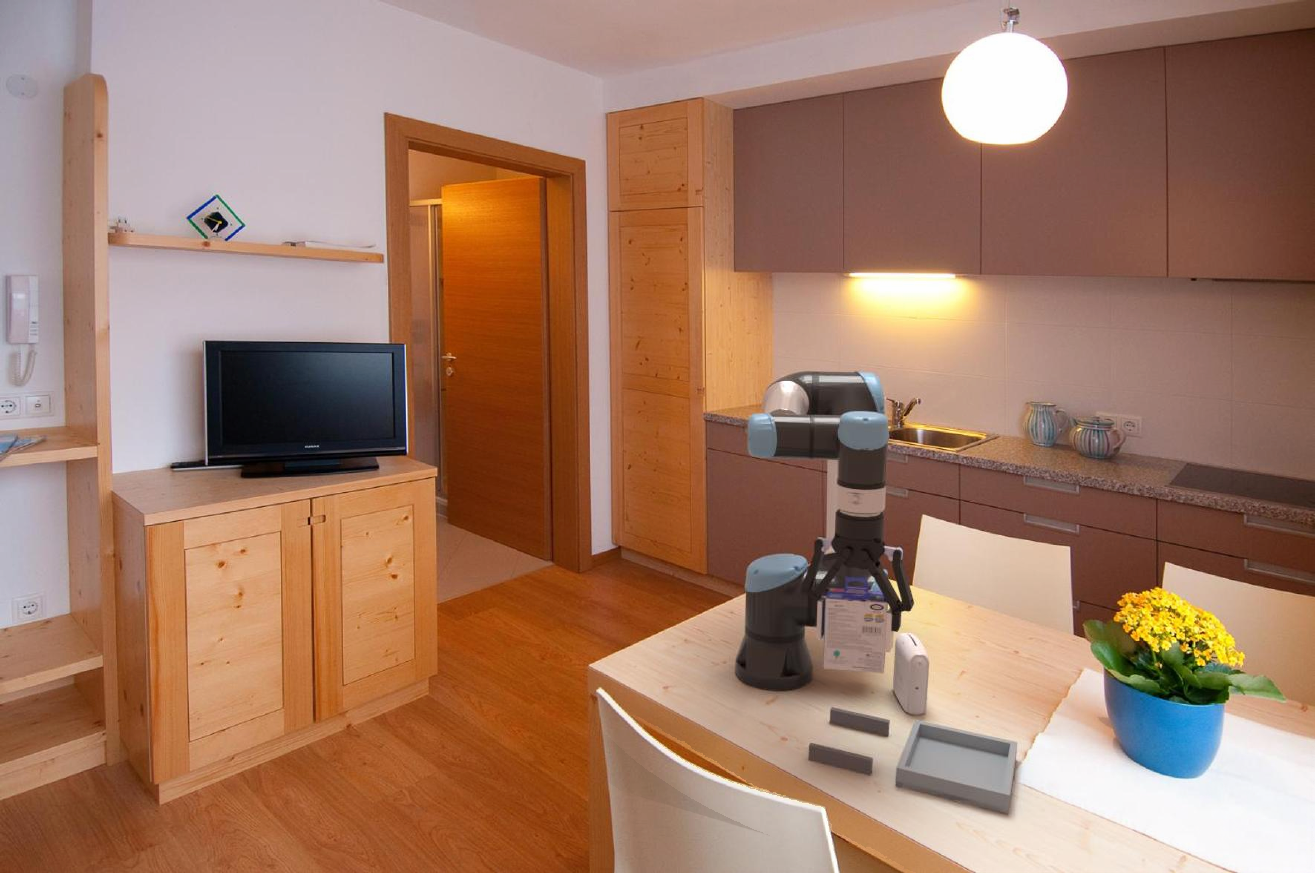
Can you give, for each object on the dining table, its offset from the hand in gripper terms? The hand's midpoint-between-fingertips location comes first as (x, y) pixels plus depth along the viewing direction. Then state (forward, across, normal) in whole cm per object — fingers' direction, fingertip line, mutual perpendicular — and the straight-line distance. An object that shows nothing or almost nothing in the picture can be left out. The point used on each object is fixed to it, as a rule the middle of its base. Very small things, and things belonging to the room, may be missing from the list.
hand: (854, 642), depth 138 cm
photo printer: (+19, +6, +20) cm, 28 cm away
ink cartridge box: (+4, 0, 0) cm, 4 cm away
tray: (+18, +17, 0) cm, 25 cm away
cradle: (+18, 0, 0) cm, 18 cm away
